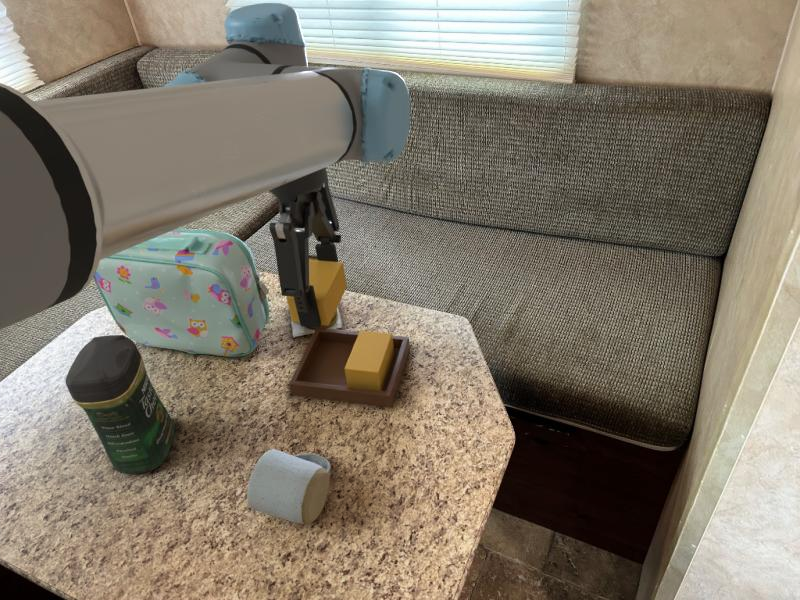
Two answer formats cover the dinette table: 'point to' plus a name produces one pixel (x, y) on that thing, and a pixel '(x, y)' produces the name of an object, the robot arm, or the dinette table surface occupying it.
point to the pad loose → (324, 289)
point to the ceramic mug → (289, 485)
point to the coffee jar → (121, 403)
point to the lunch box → (187, 293)
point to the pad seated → (370, 360)
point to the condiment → (334, 324)
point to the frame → (343, 370)
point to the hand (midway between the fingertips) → (322, 302)
